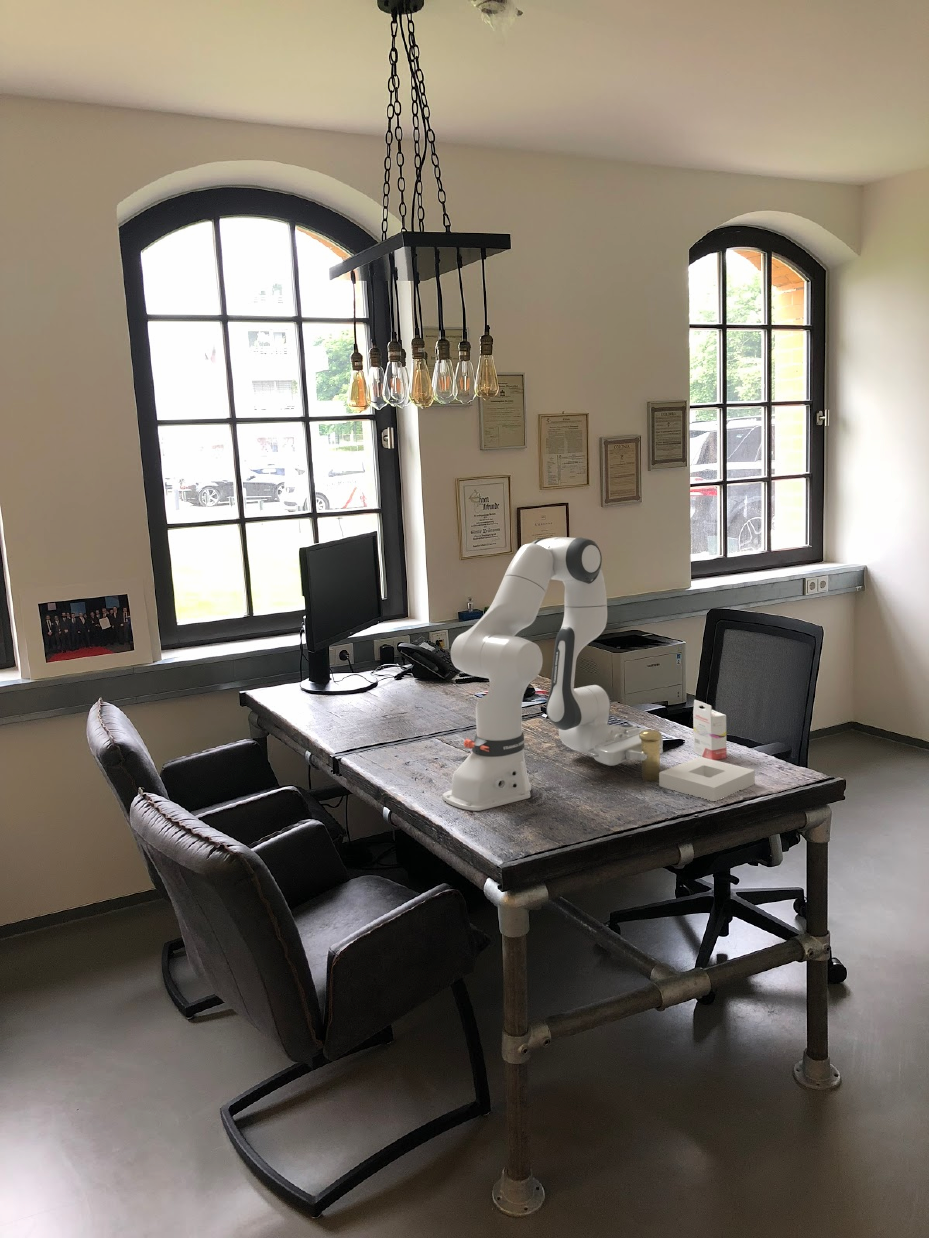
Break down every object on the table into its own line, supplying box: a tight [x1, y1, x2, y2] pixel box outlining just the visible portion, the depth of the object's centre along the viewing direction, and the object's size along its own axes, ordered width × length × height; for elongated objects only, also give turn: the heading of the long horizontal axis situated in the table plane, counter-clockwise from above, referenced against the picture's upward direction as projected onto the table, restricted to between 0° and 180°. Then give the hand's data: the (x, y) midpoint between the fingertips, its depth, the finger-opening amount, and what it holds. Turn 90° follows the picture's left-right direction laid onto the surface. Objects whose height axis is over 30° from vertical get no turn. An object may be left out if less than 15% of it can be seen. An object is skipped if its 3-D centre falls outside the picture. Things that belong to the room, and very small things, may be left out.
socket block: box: [658, 756, 756, 802], centre depth 237 cm, size 16×16×4 cm
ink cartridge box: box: [692, 699, 728, 761], centre depth 257 cm, size 9×5×15 cm, turn 21°
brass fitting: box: [639, 728, 663, 783], centre depth 243 cm, size 5×5×12 cm
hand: (653, 753), depth 242 cm, fingers closed on brass fitting, 4 cm apart
